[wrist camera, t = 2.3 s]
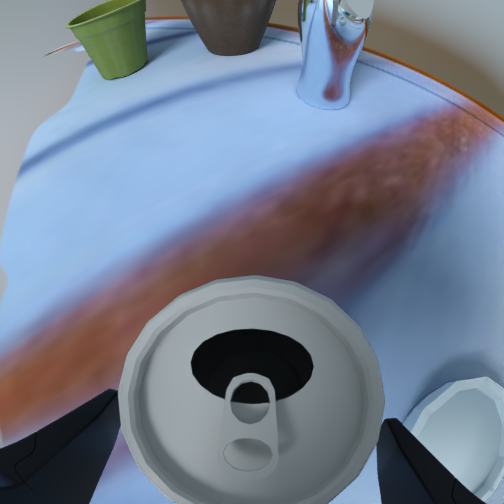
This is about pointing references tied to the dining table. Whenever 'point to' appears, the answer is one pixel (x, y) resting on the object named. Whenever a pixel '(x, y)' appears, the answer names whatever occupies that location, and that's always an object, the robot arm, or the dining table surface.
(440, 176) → the dining table surface
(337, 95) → the beer glass
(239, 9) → the plant pot
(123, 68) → the plant pot
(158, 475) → the can
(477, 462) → the dish
